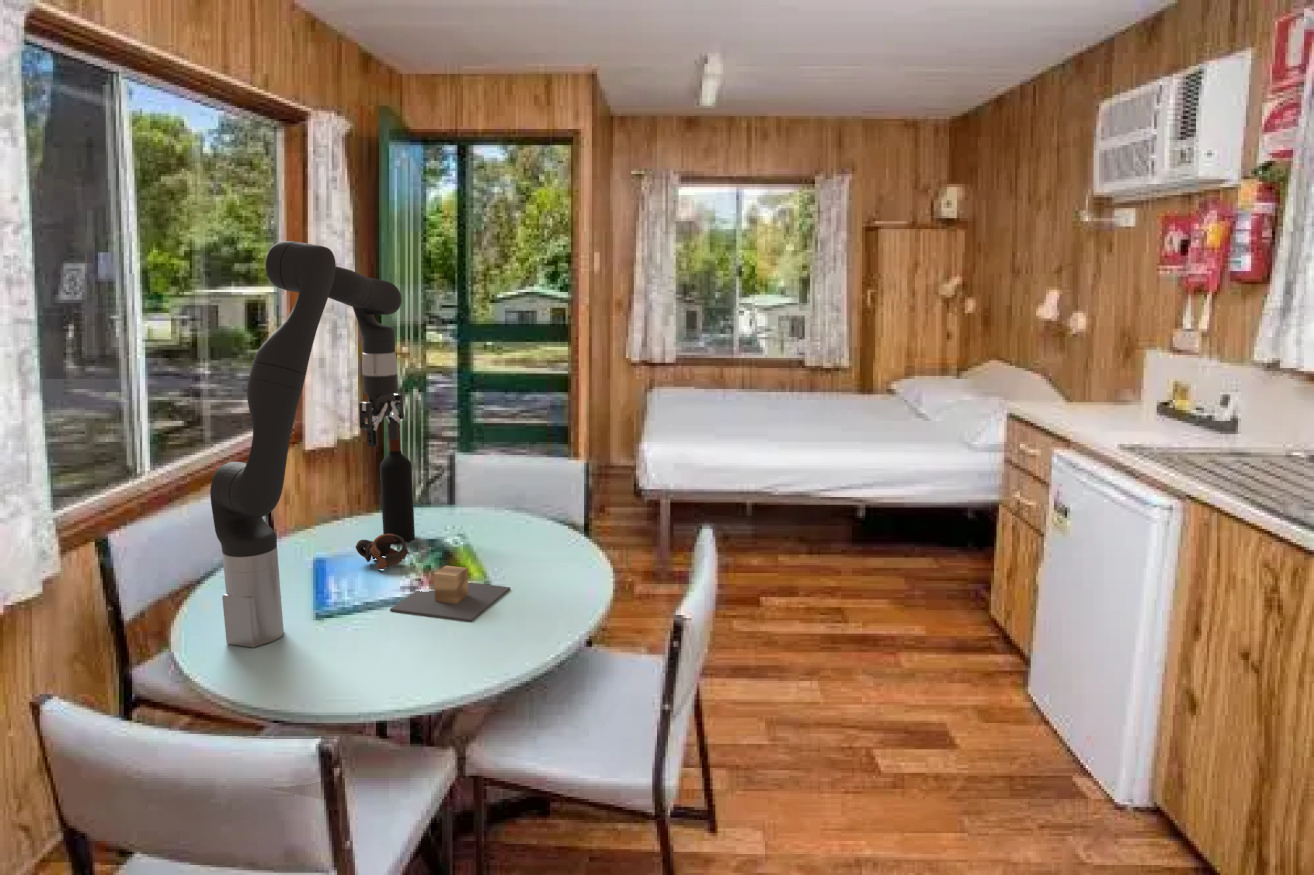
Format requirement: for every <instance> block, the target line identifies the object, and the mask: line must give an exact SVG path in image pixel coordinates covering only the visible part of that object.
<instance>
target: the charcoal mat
mask: <svg viewBox="0 0 1314 875" xmlns="http://www.w3.org/2000/svg"><path fill="white" fill-rule="evenodd" d="M430 585H434V584H430ZM421 588H422V587H420V588H419V589H421ZM431 589H434V588H431ZM510 590H511V587H509V586H503V585H502V586H501V585H493V584H485V583H478V582H477V583H476V582H470V583H468V596H466V597H465V598H464V599H462V600H461V601H460V602H459V603H457V604H454V603H447V602H439V601H435V591H434V590H433V591H429V592H422V591H421V592H420V591H417V590H416V591H414V592H413V593H411V594H410V595H408V596H407V597H405V598H404V599H403V600H401V601H400V602H398V603H396V604H395V605H393V606H392V607H391V608H389V609H390V612H394V613H403V614H409V615H410V614H411V615H417V616H418V615H419V616H425V617H433V618H440V619H447V620H455V621H461V622H473V621H475V619H476V618H478V617H479V616H480V615H481V614H482V613H484V612H485V611H486V610H488V609H489V608H490V607H491V606H492V605H493V604H495V603H496V602H497V601H498V600H499V599H500V598H502V597H503V596H504V595H505V594H506V593H508V592H509V591H510Z"/></svg>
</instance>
